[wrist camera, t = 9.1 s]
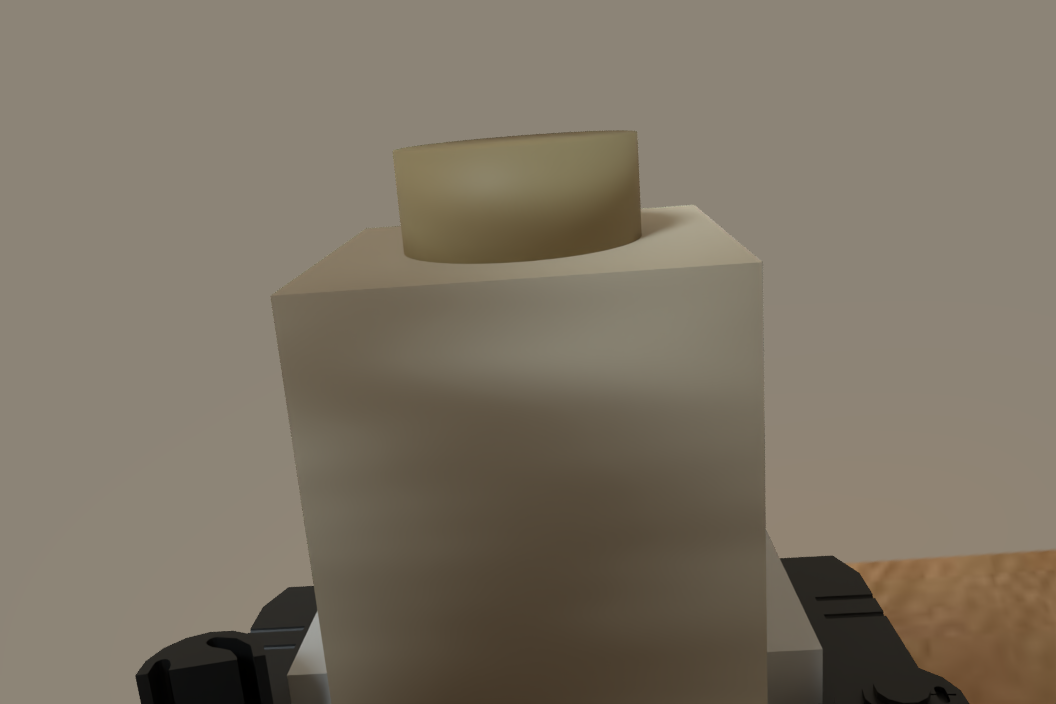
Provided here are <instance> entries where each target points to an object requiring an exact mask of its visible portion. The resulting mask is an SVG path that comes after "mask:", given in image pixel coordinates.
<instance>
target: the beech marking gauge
mask: <svg viewBox="0 0 1056 704" xmlns="http://www.w3.org/2000/svg"><path fill="white" fill-rule="evenodd" d="M393 159H394V168H395V177H396V185H397V195H398V204H399V213H400V222H401V226H394V227H380V228H366V229H365V230H363V231H362V232H361V233H359V234H358V235H356V236H355V237H353V238H352V239H351V240H349V241H348V242H346V243H345V244H344V245H342V246H341V247H339V248H338V249H336V250H335V251H334V252H332V253H331V254H329V255H328V256H326V257H325V258H324V259H322V260H321V261H319V262H318V263H317V264H315V265H314V266H312V267H311V268H309V269H308V270H307V271H305V272H304V273H302V274H301V275H299V276H298V277H297V278H295V279H294V280H292V281H291V282H289V283H288V284H287V285H285V286H284V287H282V288H281V289H279V290H278V291H277V292H275V293H274V294H272V295H271V302H272V310H273V316H274V323H275V330H276V335H277V343H278V350H279V356H280V363H281V369H282V376H283V382H284V390H285V396H286V403H287V410H288V417H289V423H290V430H291V437H292V443H293V450H294V457H295V463H296V470H297V477H298V483H299V490H300V496H301V503H302V510H303V516H304V524H305V530H306V537H307V544H308V550H309V557H310V564H311V570H312V576H313V584H314V591H315V597H316V604H317V611H318V617H319V624H320V631H321V637H322V644H323V651H324V657H325V664H326V671H327V677H328V684H329V691H330V698H331V704H768V698H767V608H766V520H765V439H764V438H765V433H764V430H765V428H764V347H763V346H764V344H763V343H764V342H763V340H764V338H763V262H762V261H761V260H760V259H758V258H757V257H756V256H755V255H754V254H752V253H751V252H750V251H749V250H748V249H746V248H745V247H744V246H743V245H742V244H740V243H739V242H738V241H737V240H736V239H734V238H733V237H732V236H731V235H730V234H728V233H727V232H726V231H725V230H724V229H722V228H721V227H720V226H719V225H718V224H717V223H715V222H714V221H713V220H712V219H711V218H709V217H708V216H707V215H706V214H705V213H703V212H702V211H701V210H700V209H699V208H697V207H696V206H695V205H686V206H672V207H658V208H644V209H641V208H640V186H639V166H638V165H639V164H638V141H637V132H636V131H585V132H567V133H551V134H536V135H521V136H508V137H496V138H486V139H474V140H463V141H454V142H445V143H436V144H428V145H420V146H413V147H406V148H401V149H396V150H393Z"/></svg>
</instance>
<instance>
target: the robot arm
mask: <svg viewBox="0 0 1056 704" xmlns="http://www.w3.org/2000/svg"><path fill="white" fill-rule="evenodd" d="M766 608H767V698H768V704H969V702H968V701H967V699H966V698H965V696H964V695H963V693H962V692H961V690H959V689H958V688H957V687H955V686H954V685H952V684H951V683H950V682H948V681H947V680H945V679H944V678H943V677H940V676H938V675H935V674H933V673H930V672H927V671H925V670H922V669H920V668H918V666H917V665H916V663H915V661H914V660H913V658H912V657H911V655H910V653H909V652H908V650H907V649H906V647H905V645H904V644H903V642H902V641H901V639H900V637H899V636H898V634H897V633H896V631H895V629H894V628H893V626H892V625H891V623H890V621H889V620H888V618H887V617H886V616H884V614H883V610H882V609H881V607H880V605H879V604H878V602H877V601H876V599H875V598H873V596H872V593H871V591H870V589H869V588H868V586H867V585H866V583H865V581H864V580H863V578H862V577H861V575H860V573H858V572H857V571H855V570H854V569H852V568H851V567H849V566H848V565H846V564H845V563H843V562H842V561H840V560H838V559H837V558H835V557H834V556H817V557H799V558H779V556H778V554H777V552H776V550H775V548H774V546H773V543H772V541H771V539H770V537H769V535H768V533H767V531H766ZM136 681H137V686H138V691H139V696H140V700H141V704H331V698H330V691H329V684H328V677H327V671H326V664H325V657H324V651H323V644H322V637H321V631H320V624H319V617H318V611H317V604H316V597H315V591H314V586H306V587H289V588H287V589H286V590H284V591H283V592H282V593H281V594H279V595H278V596H277V597H275V598H274V599H273V600H272V601H270V602H269V603H268V604H267V605H265V606H264V607H263V608H262V610H261V612H260V613H259V615H258V617H257V619H256V620H255V622H254V624H253V625H252V627H251V633H248V634H246V633H241V632H236V631H222V632H209V633H205V634H201V635H197V636H193V637H189V638H185V639H184V640H181V641H179V642H177V643H174V644H172V645H170V646H168V647H166V648H164V649H162V650H161V651H159V652H158V653H156V654H155V655H154V656H152V657H151V658H150V659H148V660H147V661H146V662H145V663H144V664H143V666H142V667H141V668H140V670H139V671H138V673H137V674H136Z"/></svg>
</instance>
